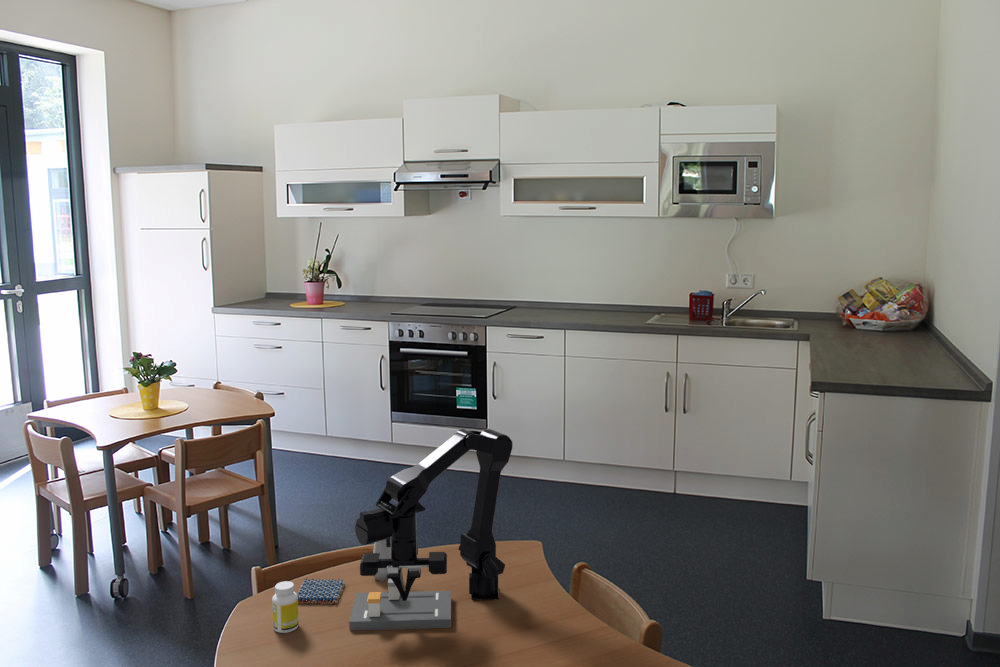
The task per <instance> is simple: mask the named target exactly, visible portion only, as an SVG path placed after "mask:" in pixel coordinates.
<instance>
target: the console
mask: <svg viewBox="0 0 1000 667" xmlns="http://www.w3.org/2000/svg"><path fill="white" fill-rule="evenodd" d="M380 592H381V612H380V617H369V609H368V596H369V592H356V593H355V598H354V601H353V604H352V605H353V606H352V610H351V614H350V618H349V622H348V623H349V626H348V627H349V631H372V630H374V631H376V630H408V629H410V630H413V629H414V630H415V629H450V628H452V590H431V591H430V590H429V591H428V590H427V591H423V590H422V591H410V592H409V595H408V598H407V601H403V600H402V598H401V595H400V598H399V600H389V591H388V592H387V591H385V592H383V591H380Z"/></svg>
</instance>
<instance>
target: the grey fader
mask: <svg viewBox="0 0 1000 667" xmlns="http://www.w3.org/2000/svg"><path fill="white" fill-rule="evenodd" d="M387 587H388V592H389V600H399V598H400V593H399V591H398V589H397V587H396V585H395V584H394V582H393V581H392V579H387Z"/></svg>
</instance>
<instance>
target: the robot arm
mask: <svg viewBox="0 0 1000 667" xmlns="http://www.w3.org/2000/svg"><path fill="white" fill-rule="evenodd" d="M513 444H514V443H513V440H512V439H511V437H510V436H508V435H507V434H504V433H501V432H499V431H496V430H494V429H490V428H486V429H484V430H482V431H478V430H473V429H472V430H471V429H465V428H461V429H457V430H456V431H455V432H454V433H453V435H451V437H449V438H448V439H447V440H445V441H444V443H442V444H440V445H439V447H437V448H436V449H434V450H433V451H432V452H430V454H428V456H426V457H425V458H424V459H422V460H421V461H420V462H418V463H417V464H415V465H414V466H411V467H408V468H404V469H402V470H400V471H399V472H397V473H395V474H393V475H392V476H390V477H389V478H388V479H387V481H386V483H385V487H384V488H383V491H382V493H381V494H380V497H379V499H378V500H377V502H376V503H375V506H376V509H371V510H365V511H360V512H359V518H357V520H356V522H355V524H354V530H355V531H354V532H355V536H356V538H357V541H358V542H359V543H360V545H362V546H367V545H370V544H374V543H375V542H377V541H381V540H385V539H386V547H390V549H391V559H380V553H371V552H370V553H369V552H368V553H367V552H366V553H364V554H363V555H362V556H361V558H360V563H359V575H360V576H362V577H372V576H373V577H374V576H375V575H376V574H377V573H378V568H387V578H388V579H392V581H393V582H394V584H395V585H396V587H397V589H398V591H399V593H400V595H401V598H402V600H403V601H407V598H408V595H409V592H411V589H412V587H413V585H414V582H415V581H416V579H419V578H421V576H422V568H428V572H429V573H430V574H431V575H445V574H446V575H447V573H448V571H447V570H448V554H447V552H445V551H430V552H429V551H428V552H429V553H428V557H420V556H418V555H419V543H418V531H417V530H418V528H417V527H418V526H417V523H418V522H417V514H418V513H420V512H424V511H426V506H423V505H422V504H421V503H420V500H421V499H422V498H423V496H424V495H425V494H426V493H427V491H428V488H429V486H430V484H431V483H432V482H433V481H434V480H435V479H436V478H438V477H439V476H440V475H441V474H442V473H444V472H445V471H446V470H448V468H450V467H451V466H452V465H453V464H455V463H456V462H457V461H458V460H460V458H462V457H463V456H464V455H465V454H467V453H468V452H469V451H475V452H476V457H477V462H478V465H479V475H478V480H477V481H478V482H477V488H476V496H475V502H474V507H473V508H474V509H473V515H472V521H471V526H470V528H469V530H467V532H466V533H461V535H460V544H459V546H458V548H457V549H458V550H459V553H460V554H459V555H460V557H461V558H462V560H463V561H465V564H466V566H467V567H470V568H471V572H469V573H468V594H469V595H471V596H470V597H471V598H470V599H471V600H472V601H489V600H490V601H491V600H493V601H494V600H500V594H499V576H500V575H503V574H504V570H505V568H506V564H505V563H504V562H503V561H502V560H501V559H500V558H498V557H497V543H496V539H495V537H494V532H493V526H494V521H495V513H496V507H497V500H498V494H499V486H500V481H501V474H502V471H503V470H504V468H505V467H506V465H507V464H508V463H509V461H510V458H511V453H512V450H513ZM390 501H393V502H395V503H396V504H397V505H394V504H393V503H391V502H390ZM403 568H405V569H406V568H407V573H406V581H405V582H404V576H403ZM388 579H387V580H388ZM404 583H405V584H404Z"/></svg>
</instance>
